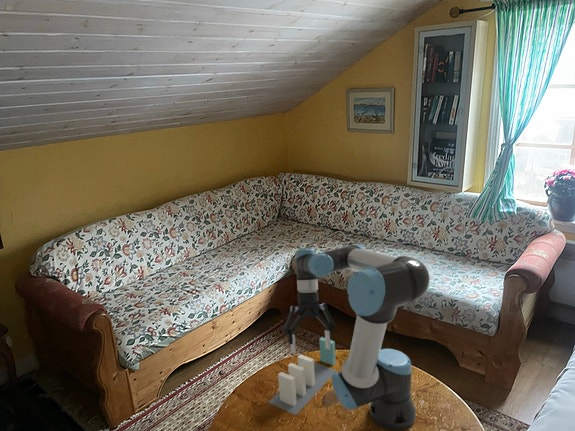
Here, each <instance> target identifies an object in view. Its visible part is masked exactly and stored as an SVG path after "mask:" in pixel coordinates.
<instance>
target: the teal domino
mask: <svg viewBox="0 0 575 431" xmlns="http://www.w3.org/2000/svg"><path fill="white" fill-rule="evenodd" d="M318 339H319V340H318V342H319V359H320V361H321V362H323V363H325V364H328V365H331V366H335V364H336V342H335V340H332V339H330V347H331V349H327V348H326V346H325V337H323V336H321V337H320V338H318Z"/></svg>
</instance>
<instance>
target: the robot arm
mask: <svg viewBox="0 0 575 431" xmlns="http://www.w3.org/2000/svg"><path fill="white" fill-rule="evenodd" d="M295 268H296V269H295V270H296V286H297V291H298V292H297V303H298V305H297V306H293V305H291V306H289V313H288V316H287V318H286V320H285V323H284V325H283V329H282V333H284V334H286V335H287V343H288V345H290V352H291V354H294V355H295V354H296V353H297V352H296V335H295V333H294V332H295V331H296V330H297V328H298V326H299V325H300V324H301V322H302V321H303V320H304V319H308V318H316V319H317V320H318V321H319V322H320V323H321V324H322V325H323V327H324V328H325V329H324V338H325V346H326V348H327V349H331V347H330V340H332V339H333V334H332V333H333V330H334V329H336V328H337V325H336V322H335V321H334V319H333V317H332V315H331V313H330V311H329V309H328V304H327V303H324V302H322V303H321V304H320V303H319V300H320V298H319V291H318V290H319V282H318V277H323V276H324V277H325V276H328V275H329V274H330V273H335V272H338V271H342V270H346V269H347V270H348V269H350V270H354V271H356V272H354V273H353V274H352V275H351V277H350V278H349V280H348V285H347V290H346V291H347V295H348V297H347V299H348V302H349V305H350V307H351V309H352V310H353V311H354V313H355V315H356V320H355V324H354V330H353V335H352V340H351V344H350V349H349V354H348V358H346V359H345V360H344V361H343V363H342V365H341V367H340V368H341V369H340V371H339V372H338V371H337V372H336V373H335V374H333V375H332V377H331V384H332V389H334V391H335V394H336V396H337V398H338V400H339V402H338V403H340V404H341V406H342V407H343V408H344V409H346V410H348V411H351V410H355V409H358V408H360V407H362V406H365V405H368V404H369V415H370V417H371V419H372V420H373V422H374V423H375V424H376V425H377V426H379V427H381V428H384V429H387V430H391V431H401V430H406V429H409V428H410V427H411V426H412V425H413V424H414V423H415V422H416V414H417V413H416V407H415V404H414V402H413V399H412V396H411V392H412V391H411V390H412V388H411V387H412V370H413V369H412V362H411V359H410V358H409V356H408V355H407V354H405V353H404V352H403V351H400V350H398V349H397V350H396V349H394V348H382V345H383V341H384V337H385V334H386V330H387V326H388V324H389V323H391V322H392V321H393V319H395V317H396V313H397V310H398V307H400V306H403V305H406V304H409V303H413V302H416V301H417V300H419V299H421V297H423V296H424V295H425V293H426V292H427V291H428V289H429V286H430V281H431V280H430V273H429V270H428V269H427V267H426V265H425V264H424V263H423V262H422V261H420V260H419V259H416V258H414V257H410V256H408V255H407V256H405V255H400V256H397V257H395V256H391V255H387V254H384V253H377V252H374V251H370V250H367V249H366V248H365V247H364V246H363V245H362V244H350V245H348V246H344V247H339V248H336V249H331V250H326V251H324V252H319V253H316V249H314V248H304V249H303V248H301V249H297V250H296V252H295ZM320 310H322V313H323V314H324V316H325V318H326V319H325V318H324V317H323V316H322V315H321V313H320V312H319V311H320ZM297 312H299V313H298V314H297V317H296V318H295V319H294V317H295V314H296V313H297ZM293 320H294V321H293ZM326 320H327V321H326Z"/></svg>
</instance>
